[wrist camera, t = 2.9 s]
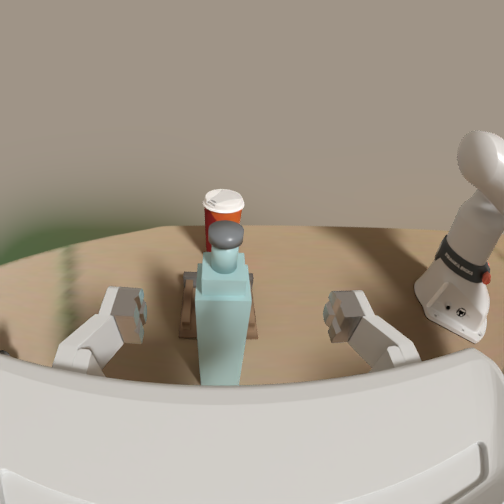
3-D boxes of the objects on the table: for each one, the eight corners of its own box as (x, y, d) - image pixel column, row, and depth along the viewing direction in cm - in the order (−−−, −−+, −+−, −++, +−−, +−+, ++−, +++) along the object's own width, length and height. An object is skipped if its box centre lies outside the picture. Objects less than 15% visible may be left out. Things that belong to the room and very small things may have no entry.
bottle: (238, 386, 37) (259, 248, 22) (201, 386, 36) (193, 246, 22) (236, 356, 41) (253, 215, 27) (201, 355, 40) (197, 213, 26)
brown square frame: (257, 339, 44) (260, 327, 42) (179, 337, 42) (177, 326, 41) (250, 285, 54) (252, 273, 52) (184, 283, 52) (184, 271, 50)
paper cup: (220, 274, 55) (224, 210, 47) (194, 256, 59) (194, 195, 51) (246, 257, 60) (254, 197, 52) (221, 241, 64) (224, 184, 56)
